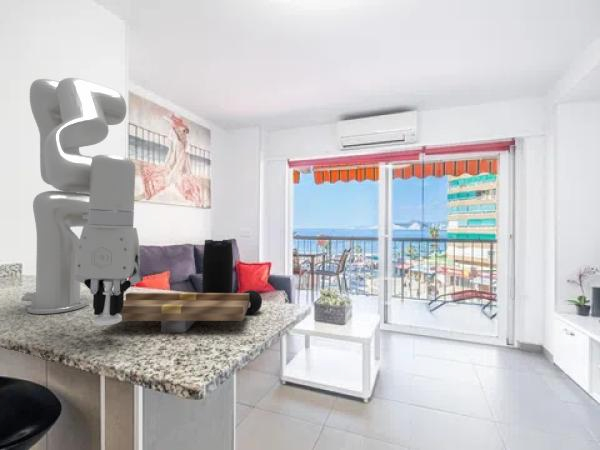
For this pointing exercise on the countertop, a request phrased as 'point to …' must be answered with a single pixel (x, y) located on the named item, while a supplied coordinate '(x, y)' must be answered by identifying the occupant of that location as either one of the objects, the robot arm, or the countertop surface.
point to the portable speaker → (217, 267)
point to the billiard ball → (254, 301)
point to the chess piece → (107, 307)
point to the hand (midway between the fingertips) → (108, 312)
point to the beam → (184, 308)
